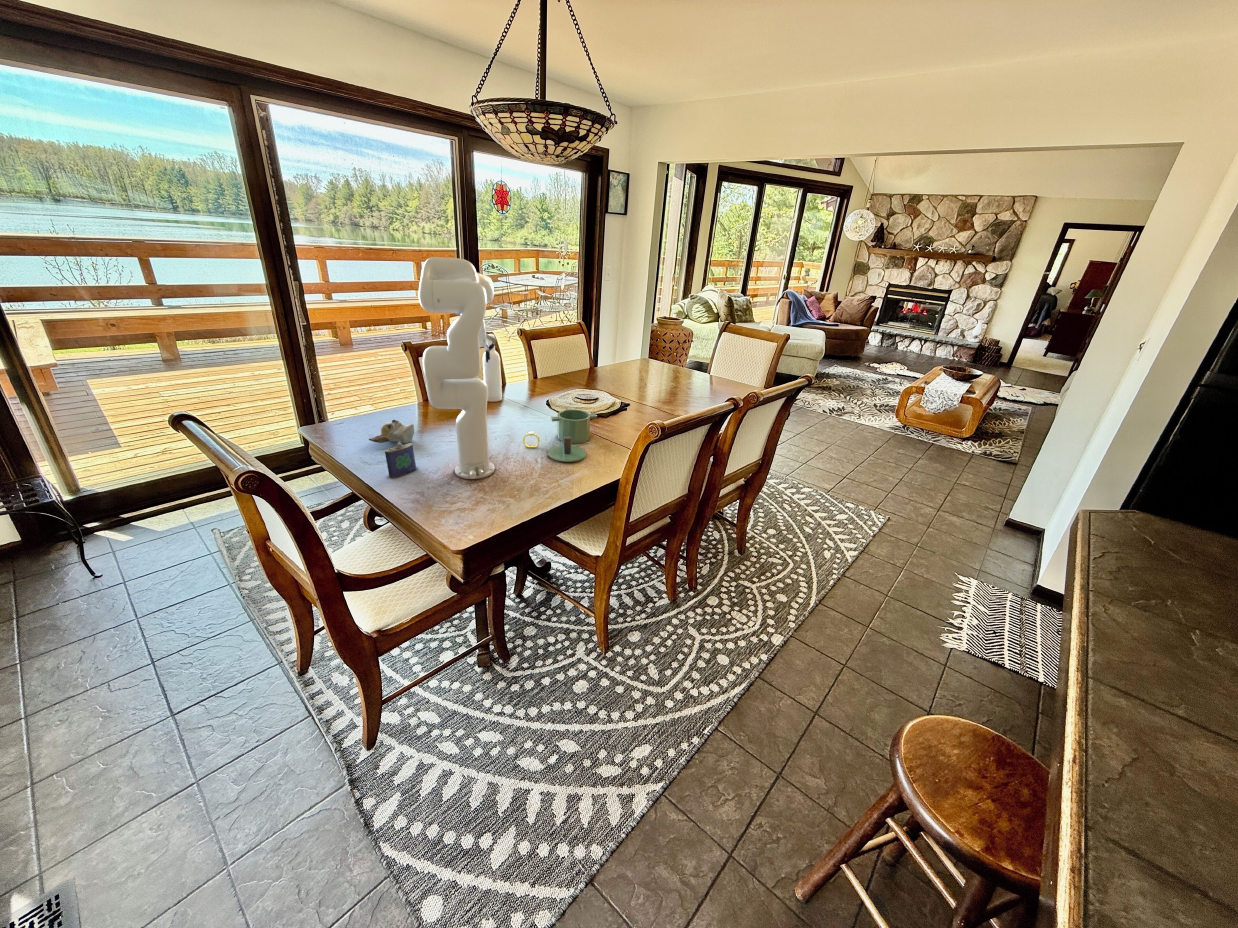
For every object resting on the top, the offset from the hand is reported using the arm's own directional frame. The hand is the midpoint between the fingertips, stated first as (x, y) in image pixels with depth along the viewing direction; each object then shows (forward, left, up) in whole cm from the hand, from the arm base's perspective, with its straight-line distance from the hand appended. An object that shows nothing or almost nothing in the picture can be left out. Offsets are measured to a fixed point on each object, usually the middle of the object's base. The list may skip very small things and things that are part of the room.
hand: (474, 361), depth 181 cm
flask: (-34, +27, -27) cm, 51 cm away
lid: (-33, -28, -27) cm, 51 cm away
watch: (-23, -17, -27) cm, 39 cm away
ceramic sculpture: (-7, +30, -27) cm, 41 cm away
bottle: (+36, -11, -27) cm, 47 cm away
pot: (-17, -35, -27) cm, 47 cm away
